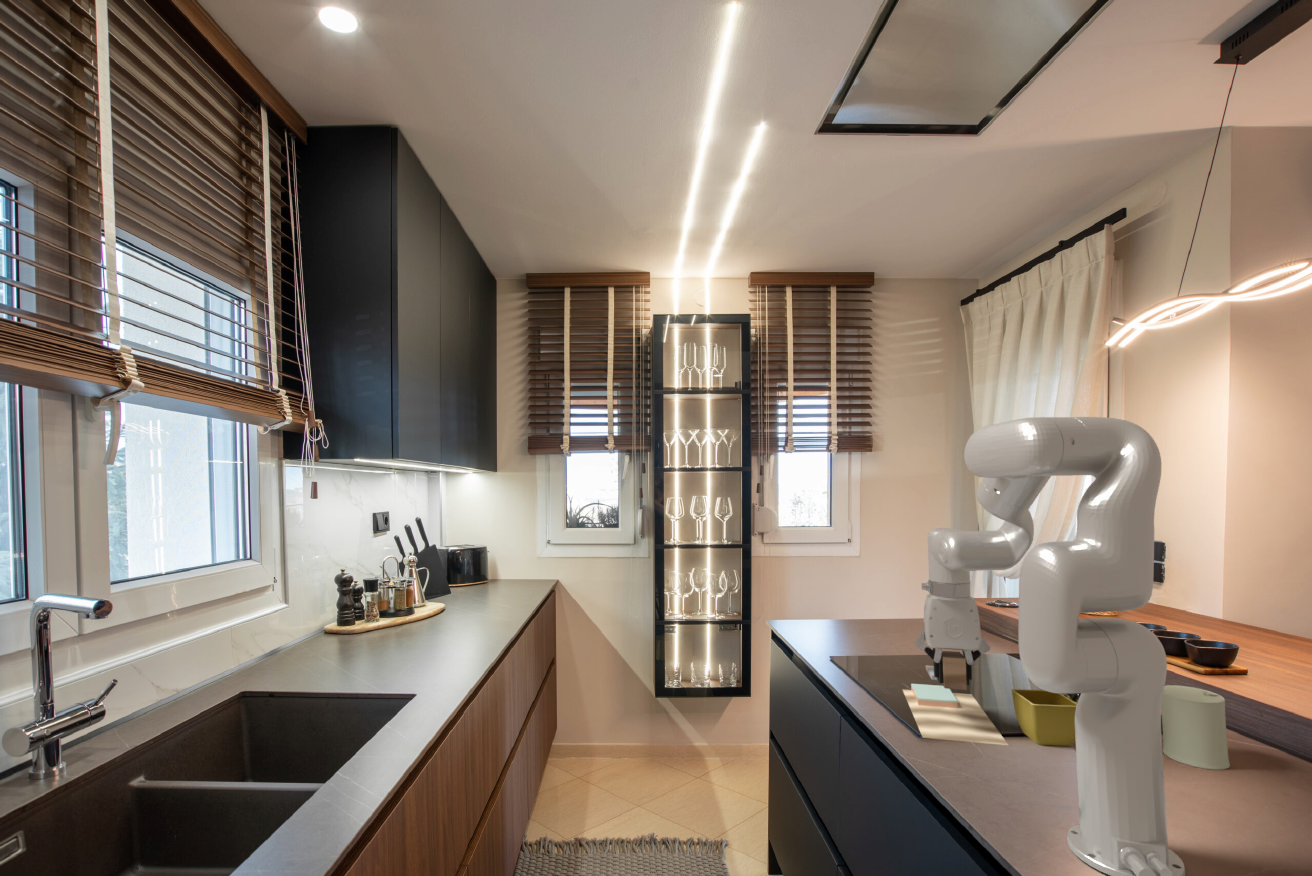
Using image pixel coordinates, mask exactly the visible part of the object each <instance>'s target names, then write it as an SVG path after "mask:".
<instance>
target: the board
mask: <svg viewBox="0 0 1312 876" xmlns="http://www.w3.org/2000/svg"><path fill="white" fill-rule="evenodd" d="M901 690H902V692H903V694H904V697H905V700H906V701H907V702H906V703H908V706H909V709H910V711H911V713H912V716H913V719H914V720H915V722H916V725H917V728H918V730H919V732H920V735H921V737H922V738H924V739H931V740H932V739H933V740H942V741H943V740H944V741H953V742H955V741H956V742H966V743H977V744H987V745H988V744H990V745H999V746H1009V743H1008V742H1007V741H1006V740H1005V737H1003V736H1002V734H1001V732H1000V731H999V730H998V729H997V727H996V726H995V725H994V723H993V722H992V720H991V719H990V718H989V716H988V715H987V714H986V712H985V710H984V709H983V708H982V706H981V705H980V704H979V703H978V701H977V700H976V698H975V697H974V696H973V694H971V693H970V694H969V693H960V692H959V693H958V692H952V693H953V695H954V696H955V698H956V700H957V701H958V708H948V707H935V706H922V705H918V703H917V701H916V699H915V697H914V695H913V693H912V690H911V689H903V688H902V689H901Z"/></svg>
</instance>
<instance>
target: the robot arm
mask: <svg viewBox="0 0 1312 876" xmlns="http://www.w3.org/2000/svg"><path fill="white" fill-rule="evenodd" d="M963 452H964V453H963V455H964V456H963V458H964V463H965V465H966V468H967V469H968V471H969V472H970V473H971V474H972V475H974V476H976V477H978V478H982V480H981V482H980V483H979V485H978V486H977V488H976V498H977V501H978V502H979V504H980V506H981V507H982V508H983V509H984V510H985V511H986V512H988V513H989V514H990V515H992V516H994V517H995V518H998V519H1000V520H1003V521H1004V522H1003V524H1002V525H1001V526H1000V527H999V528H998V529H997V530H963V529H959V528H951V527H950V528H949V527H948V528H947V527H946V528H944V527H943V528H942V527H939V528H933V529H930V531H929V532H928V535H927V554H928V557H927V558H928V581H927V582H925V583H924V582H923V583H921V590H922V591H926V592H928V593H929V594H926V596H925V601H924V607H923V609H924V610H923V622H922V623H923V624H922V625H923V626H922V627H923V628H922V630H921V632H920V633H919V634H918V636H917V637H916V639H915V640H914V643H913V644H914V645H915V646H916V647H917V648H918V649H920V650H921V651H923V652H924V653H926V655H928V656H929V657H930V659H931V660H933V666H934V676H935V677H937V679H938V680H937V681H938V682H939V684H942V683H943V682H944V681H943V663H942V662H941V653H942V651H943V650H951V651H952V650H953V651H955V650H957V651H961V652H962V653H961V654H962V655H963V656H964V658H965V659H966V682H967V686H970V681H971V680H972V679H973V677H972V676H973V675H972V674H973V673H972V666H973V664H974V662H975V661H976V660H977V659H979V658H980V657H981V656H982V655H984V654H986V653H987V652H989V651H990V650H991V647H990V646H989V644H988V643H987V641H986V640H985V639H984V637H983V636H982V633H981V632H982V631H981V621H980V615H979V609H978V605H977V601H976V598H974V597H973V596H971V575H970V574H971V573H970V572H976V571H977V572H978V571H980V572H981V571H1006V570H1009V569H1011V568H1013V567H1015V566H1016V565H1017V564H1018V563H1019V562H1020V561H1021V560H1022V562H1021V566H1020V569H1019V575H1018V576H1019V578H1018V629H1017V630H1018V635H1017V636H1018V637H1017V638H1018V652H1019V659H1020V664H1021V666H1022V669H1023V670H1024V673H1025V675H1026V676H1027V678H1028V680H1030V681H1031V683H1032V684H1033V685H1034V686H1036V687H1037V688H1039V690H1045V691H1048V692H1052V693H1061V694H1080V696H1079V698H1078V700H1077V702H1076V703H1077V706H1076V711H1075V741H1074V743H1075V758H1076V777H1077V778H1076V779H1077V792H1078V793H1077V796H1078V812H1079V814H1078V815H1079V824H1075V825H1074V826H1072V827H1070V828H1069V829H1068V830H1067V833H1066V834H1067V835H1066V839H1067V845H1068V847H1069V849H1070V850H1071V851H1072V853H1073V854H1074V855H1075V856H1077V857H1078V858H1079V859H1080V860H1081V861H1083V862H1084V863H1085V864H1086V865H1089V866H1090V867H1092V868H1093V869H1095V870H1097V871H1099V872H1100V873H1103V874H1106V875H1108V876H1186V869H1185V864H1184V861H1183V860H1182V859H1181V857H1180V856H1179V855H1178V854H1177V853H1175V852H1174V851H1173V850H1172V849H1171V848H1169V841H1168V838H1169V837H1168V825H1167V823H1168V822H1167V807H1166V794H1165V793H1166V791H1165V776H1164V775H1165V773H1164V762H1163V761H1164V760H1163V758H1164V757H1163V741H1162V740H1163V735H1162V710H1161V704H1162V696H1163V690H1164V686H1166V678H1167V671H1168V661H1167V655H1166V651H1165V648H1164V645H1163V644H1162V642H1161V641H1160V639H1159V638H1158V637H1157V635H1156V634H1155V633H1153V631H1152V630H1150V629H1149V628H1148V627H1146V626H1144V625H1143V624H1141V623H1139V622H1135V621H1134V620H1133V621H1132V620H1130V619H1124V618H1118V617H1116V618H1115V617H1094V618H1093V617H1091V618H1083V617H1082V618H1080V614H1081V613H1083V614H1084V613H1109V612H1111V613H1112V612H1127V611H1128V612H1129V611H1133V610H1138V609H1141V608H1143V607H1144V606H1146V605H1147V604H1148V603H1149V601H1150V600H1151V597H1152V596H1153V595H1152V594H1153V591H1154V590H1153V589H1154V576H1155V575H1154V574H1155V573H1154V568H1155V566H1154V565H1155V564H1154V563H1155V509H1156V504H1157V498H1158V493H1159V489H1160V483H1161V480H1162V479H1161V478H1162V456H1161V452H1160V450H1159V447H1158V444H1157V443H1156V441H1155V439H1154V438H1153V437H1152V435H1151V434H1150V433H1149V432H1148V431H1147V430H1146V429H1144V428H1143V427H1142V426H1141V425H1139V424H1137V423H1134V422H1131V421H1130V420H1125V419H1121V418H1115V417H1114V418H1113V417H1101V416H1069V417H1068V416H1066V417H1065V416H1064V417H1063V416H1061V417H1060V416H1059V417H1057V416H1055V417H1053V416H1052V417H1051V416H1049V417H1045V416H1043V417H1042V416H1041V417H1039V416H1038V417H1023V418H1017V419H1013V420H1009V421H1004V422H1000V423H995V424H989V425H985V426H982V427H979V428H978V429H977V430H975V431H974V432H973V433H972V434H971V435H970V436H969V438H968V439H967V441H966V444H965V447H964V451H963ZM1052 476H1053V477H1054V476H1057V477H1058V476H1059V477H1060V476H1063V477H1064V476H1065V477H1066V476H1092V477H1094V478H1095V479H1094V480H1093V482H1092V483H1091V484H1090V485H1089V486H1088V487H1087V488H1086V490H1085V492H1084V493H1083V495H1082V497H1081V499H1080V502H1078V507H1077V511H1076V534H1075V538H1074V540H1071V541H1070V540H1068V541H1066V540H1065V541H1064V540H1063V541H1062V540H1061V541H1047V542H1043V543H1040V544H1038V545H1035V546H1034V547H1032V548H1031V546H1032V545H1033V541H1034V536H1035V534H1034V533H1035V527H1034V526H1035V525H1034V520H1033V519H1034V518H1033V516H1032V514H1031V511H1030V508H1031V506H1032V505H1033V504H1034V502H1035V501H1036V500H1037V498H1038V497H1039V495H1040V493H1041V492H1042V490H1043V489H1044V488H1045V486H1046V484H1048V482H1049V480H1050V478H1051V477H1052ZM1030 548H1031V549H1030ZM1025 554H1026V555H1025ZM1022 558H1024V559H1022ZM925 642H926V644H925Z"/></svg>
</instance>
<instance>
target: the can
mask: <svg viewBox="0 0 1312 876" xmlns="http://www.w3.org/2000/svg"><path fill="white" fill-rule="evenodd" d="M1161 727H1162V740H1163V741H1162V753H1163V754H1164V755H1165V756H1166V757H1168V758H1169V759H1172V760H1173V761H1176V762H1177V763H1181V764H1184V765H1186V766H1190V767H1194V768H1199V769H1205V770H1213V771H1215V770H1217V771H1218V770H1219V771H1220V770H1222V771H1223V770H1226V769H1227V770H1228V769H1229V768H1230V767H1231V764H1230V763H1231V762H1230V760H1229V759H1230V758H1229V752H1228V751H1229V750H1228V738H1227V736H1228V735H1227V721H1226V698H1224V697H1223V696H1222V694H1221V695H1220V694H1218V693H1216V692H1213V691H1211V690H1210V691H1209V690H1207V689H1203V688H1198V687H1193V686H1186V685H1174V684H1172V685H1171V684H1167V685H1164V690H1163V696H1162V704H1161Z"/></svg>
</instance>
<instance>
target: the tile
mask: <svg viewBox="0 0 1312 876" xmlns="http://www.w3.org/2000/svg"><path fill="white" fill-rule="evenodd" d="M910 687H911V689H910V690H912V693H913V695H914V697H915V699H916V701H917V703H918V705H922V706H935V707H948V708H958V701H957V700H956V698H955V696H954V695H953V693H954V692H952V689H946V688H944V686H943V685H937V684H936V685H934V684H925V683H924V684H923V683H922V684H921V683H911V684H910Z"/></svg>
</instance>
